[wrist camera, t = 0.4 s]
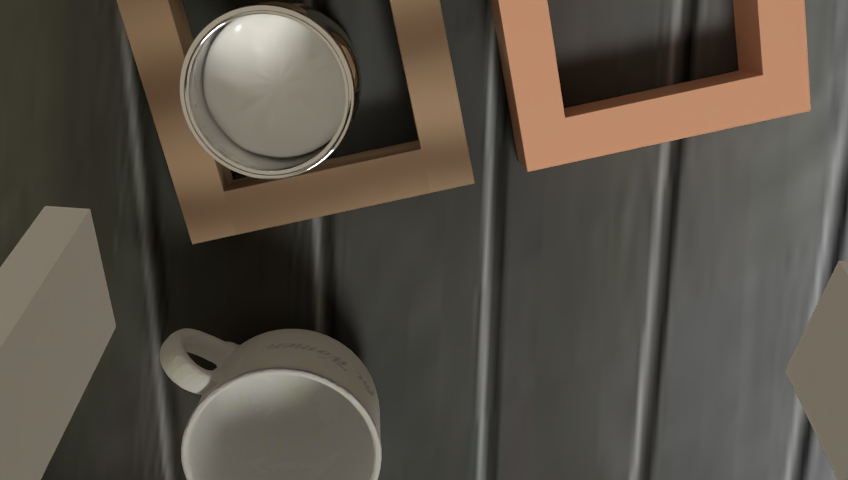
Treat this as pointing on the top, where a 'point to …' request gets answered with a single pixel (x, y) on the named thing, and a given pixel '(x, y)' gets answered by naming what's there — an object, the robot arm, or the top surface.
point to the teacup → (276, 408)
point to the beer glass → (270, 88)
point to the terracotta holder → (652, 109)
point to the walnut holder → (334, 178)
